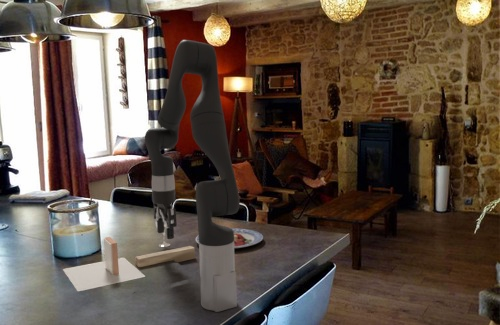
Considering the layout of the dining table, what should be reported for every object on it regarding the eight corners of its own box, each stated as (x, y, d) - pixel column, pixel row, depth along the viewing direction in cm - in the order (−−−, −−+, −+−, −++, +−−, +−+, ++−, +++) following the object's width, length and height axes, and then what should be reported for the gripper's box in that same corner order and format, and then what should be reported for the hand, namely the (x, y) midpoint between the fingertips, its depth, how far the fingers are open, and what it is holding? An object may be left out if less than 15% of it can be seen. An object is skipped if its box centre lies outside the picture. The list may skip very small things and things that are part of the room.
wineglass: (157, 248, 176) (155, 216, 174) (156, 243, 181) (154, 213, 180) (172, 246, 177) (171, 215, 176) (171, 242, 183) (170, 211, 181)
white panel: (146, 279, 145) (145, 276, 145) (78, 294, 134) (77, 291, 134) (123, 260, 163) (123, 257, 163) (62, 272, 153) (62, 269, 153)
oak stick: (195, 259, 164) (194, 247, 163) (139, 271, 153) (138, 259, 153) (191, 256, 166) (190, 245, 166) (135, 268, 156) (135, 256, 155)
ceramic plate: (182, 248, 176) (181, 240, 176) (218, 230, 199) (218, 223, 199) (242, 257, 164) (242, 249, 164) (274, 237, 187) (274, 230, 187)
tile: (118, 274, 147) (117, 242, 146) (112, 275, 146) (110, 243, 145) (111, 266, 154) (109, 236, 153) (105, 267, 153) (103, 237, 152)
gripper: (182, 190, 153) (184, 239, 155) (166, 183, 165) (168, 228, 167) (160, 193, 149) (162, 243, 151) (145, 186, 161) (147, 232, 163)
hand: (165, 235), depth 159 cm, fingers open, 8 cm apart
